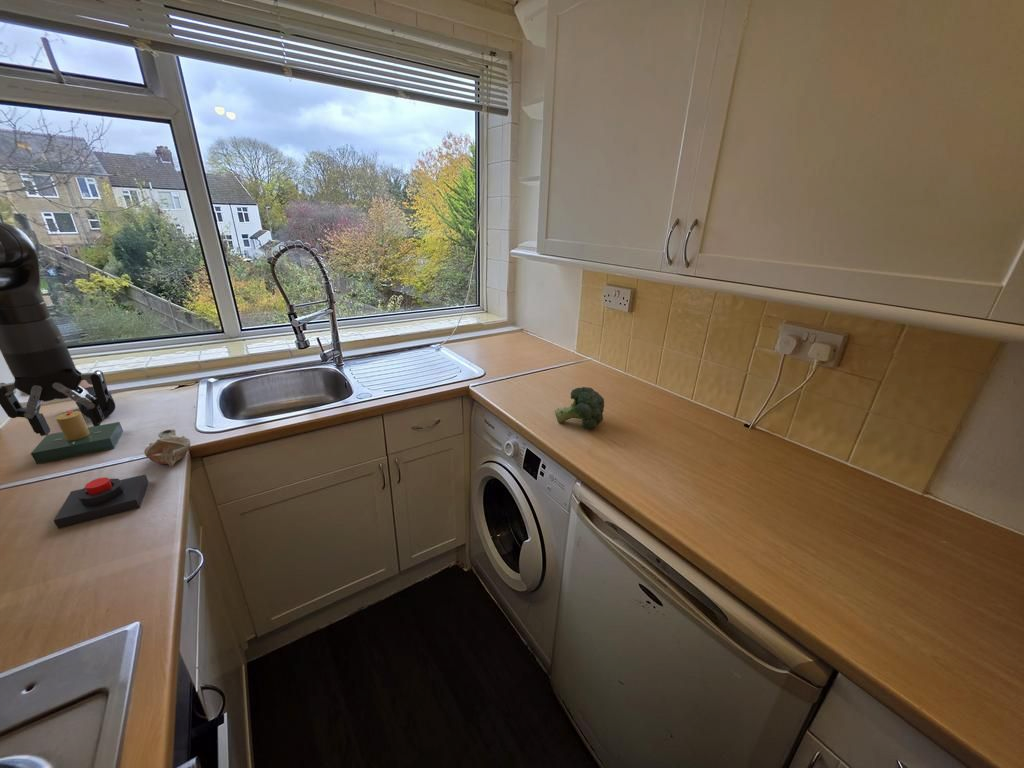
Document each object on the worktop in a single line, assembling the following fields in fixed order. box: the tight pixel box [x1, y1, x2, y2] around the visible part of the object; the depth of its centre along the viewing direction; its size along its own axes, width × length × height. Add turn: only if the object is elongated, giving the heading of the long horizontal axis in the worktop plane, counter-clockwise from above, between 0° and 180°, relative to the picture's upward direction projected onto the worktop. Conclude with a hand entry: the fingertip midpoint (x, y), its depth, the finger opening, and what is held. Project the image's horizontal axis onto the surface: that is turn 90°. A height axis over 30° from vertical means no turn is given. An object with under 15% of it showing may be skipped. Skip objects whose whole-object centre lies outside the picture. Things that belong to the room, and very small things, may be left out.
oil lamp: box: [143, 429, 191, 467], centre depth 98 cm, size 9×21×10 cm, turn 39°
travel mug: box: [74, 380, 116, 419], centre depth 121 cm, size 8×8×20 cm
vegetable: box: [554, 386, 605, 431], centre depth 117 cm, size 12×13×15 cm
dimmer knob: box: [55, 410, 90, 441], centre depth 101 cm, size 4×4×6 cm
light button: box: [84, 476, 112, 495], centre depth 82 cm, size 4×4×2 cm
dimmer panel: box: [30, 421, 124, 465], centre depth 103 cm, size 14×10×3 cm
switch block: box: [53, 473, 150, 530], centre depth 83 cm, size 12×10×4 cm
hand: (72, 428), depth 77 cm, fingers open, 6 cm apart
